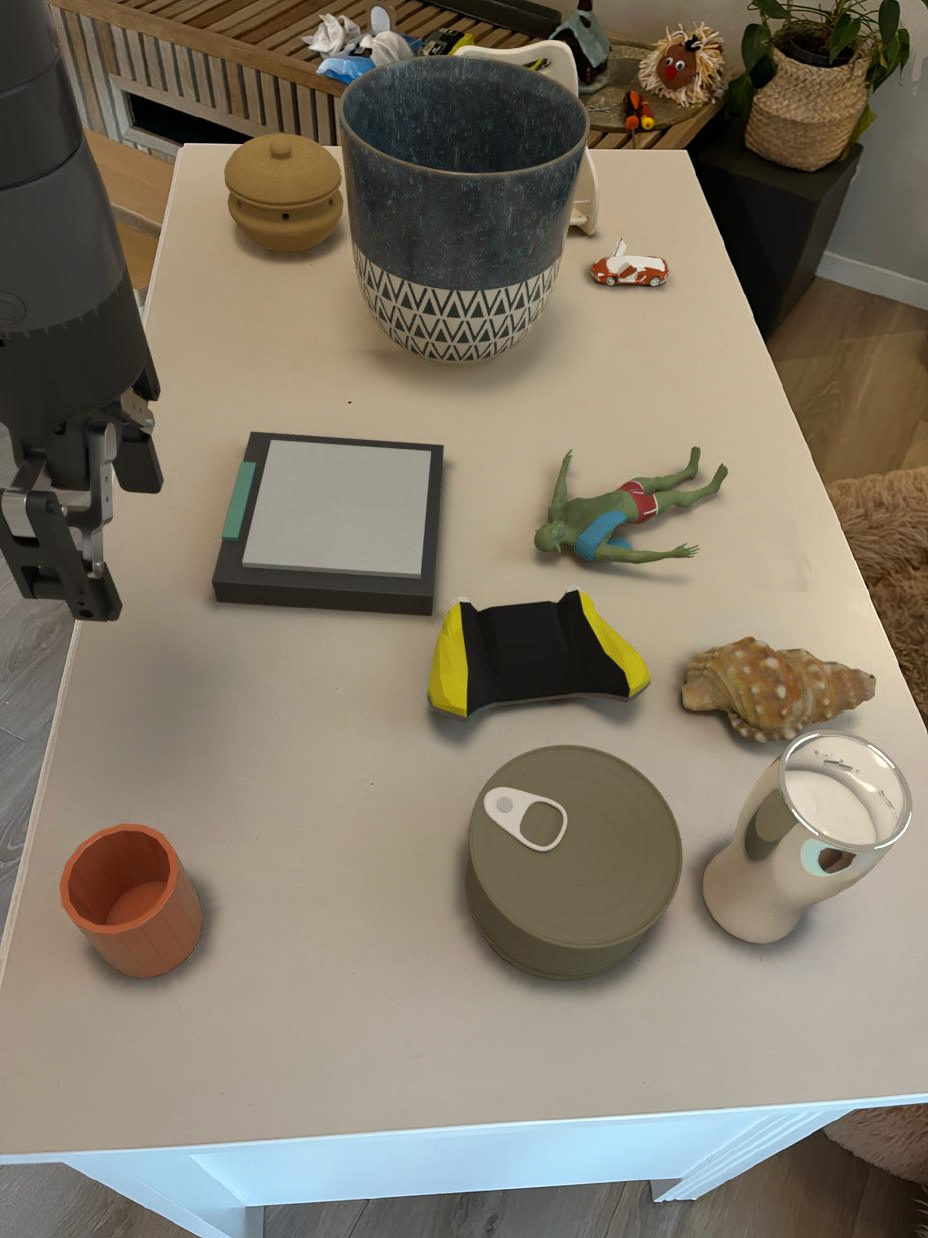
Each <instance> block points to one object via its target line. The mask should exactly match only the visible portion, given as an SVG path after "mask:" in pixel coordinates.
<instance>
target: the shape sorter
mask: <svg viewBox="0 0 928 1238" xmlns="http://www.w3.org/2000/svg"><path fill="white" fill-rule="evenodd" d="M452 55H461V56H475V57H483V58H490V59H496V60H501V61H505V62H510V63H513V64H517V65H520V66H524V65H526V64H530V63H532V62H536V61H539V60H542V59H547V60H548V61H550V63H549V65H548V66H546V67H544V68H541V69H539V70H537V71H538V72H540V73H542V74H544V75H547V76H549V77H551V78H553V79H554V80H556V81H558V82H560V83H561V84H563V85H564V86H566V87H567V88H568V89H570V90H571V91H572V92H573V93H574V94H575V95H576V96H577V97H578V98H579V79H578V70H577V65H576V60H575V57H574V55H573V51H572V49H571V47H570V46H569V45H568V44H567V43H565V42H563V41H561V40H554V39H546V40H541V41H538V42H534V43H532V44H528V45H524V46H521V47H517V48H516V47H515V48H507V49H503V48H489V47H482V46H477V45H469V44H467V45H463V46H460V47H459V48H457V49H456V51H454V53H453V54H452ZM599 208H600V185H599V178H598V174H597V169H596V166H595V163H594V160H593V158H592V155H591V152H590V150H589V147H588V145H587V146H586V151H585V156H584V161H583V165H582V170H581V174H580V178H579V182H578V186H577V191H576V195H575V200H574V205H573V209H572V214H571V219H570V224H569V226H577V227H578V228H580V229H581V230H582V231H583V232H584V234H587V235H594V233H595V231H596V230H597V229H596V228H597V224H598V218H599V211H600V210H599Z"/></svg>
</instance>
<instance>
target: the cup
mask: <svg viewBox="0 0 928 1238" xmlns="http://www.w3.org/2000/svg"><path fill="white" fill-rule="evenodd" d="M59 892H60V901H61V906H62V908H63V910H64V911H65V913H66V914H67V916H68V917H69V918H70V920H71V921H72V922H73V924H74V925H75V926H76V927H77V929H78V930H79V931H80V932H81V933H82V934H83V935H84V937H85V938H86V939H87V940H88V941H89V942H90V944H92V946H93V947H94V948H95V949H96V951H97V952H98V953H99V954H100V955H101V957H102V958H103V959H105V961H106V962H107V963H108V965H110V966H111V967H113V968H114V969H115V970H116V971H118V972H120V973H121V974H123V975H126V976H129V977H132V978H139V979H140V978H141V979H143V978H144V979H145V978H146V979H147V978H154V977H157V976H161V975H163V974H166V973H168V972H170V971H172V970H174V969H175V968H177V967H178V966H179V965H181V964H182V963H184V961H185V960H186V959H187V958H188V957H189V956H190V955H191V953H192V952H193V950H194V949H195V948H196V945H198V942H199V940H200V938H201V934H202V931H203V925H204V914H203V907H202V904H201V902H200V898H199V895H198V894H197V892H196V890H195V888H194V886H193V884H192V882H191V880H190V878H189V875H188V874H187V872H186V870H185V868H184V866H183V863H182V862H181V860H180V857H179V856H178V853H177V852H176V850H175V848H174V846H173V845H172V843H170V841H169V840H168V839H167V837H166V836H165V835H164V834H163V833H162V832H160V831H158V830H156V829H154V828H152V827H150V826H148V825H145V824H138V823H137V824H136V823H120V824H117V825H113V826H110V827H107V828H103V829H100V830H98V831H97V832H96V833H94V834H93V835H91V836H89V837H88V838H87V839H85V840H84V841H82V842H81V843H80V844H79V845H78V847H76V849H75V850H74V852H73V853H72V854H71V855H70V857H69V858H68V859H67V861H66V863H65V865H64V868H63V871H62V875H61V877H60V881H59Z"/></svg>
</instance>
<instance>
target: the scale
mask: <svg viewBox="0 0 928 1238" xmlns="http://www.w3.org/2000/svg"><path fill="white" fill-rule="evenodd" d="M444 449H445V445H444V444H436V443H435V444H434V443H422V442H421V443H420V442H407V441H406V442H405V441H391V440H378V439H365V438H349V437H336V436H321V435H308V434H307V435H306V434H293V433H279V432H267V431H266V432H263V431H250V432H249V437H248V440H247V444H246V448H245V452H244V456H243V459H242V461H240V465H239V468H238V473H237V476H236V480H235V483H234V488H233V491H232V495H231V499H230V503H229V507H228V511H227V514H226V518H225V522H224V526H223V530H222V533H221V544H220V549H219V552H218V556H217V559H216V564H215V567H214V571H213V575H212V579H211V584H212V587H213V591H214V595H215V599H216V602H220V603H222V602H223V603H237V604H249V605H250V604H251V605H265V606H266V605H267V606H281V607H282V606H283V607H297V608H299V607H300V608H309V609H310V608H312V609H326V610H327V609H328V610H341V611H343V610H344V611H355V612H356V611H358V612H372V613H373V612H374V613H388V614H405V615H420V616H432V615H433V605H434V592H435V576H436V565H437V564H436V563H437V552H438V539H439V537H438V536H439V521H440V509H441V508H440V507H441V496H442V480H443V470H444V469H443V468H444V467H443V466H444Z"/></svg>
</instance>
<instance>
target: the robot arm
mask: <svg viewBox="0 0 928 1238" xmlns="http://www.w3.org/2000/svg"><path fill="white" fill-rule="evenodd" d="M83 126H84V125H83V122H82V119H81V114H80V111H79V107H78V104H77V99H76V96H75V93H74V88H73V84H72V81H71V77H70V73H69V70H68V66H67V63H66V59H65V55H64V51H63V48H62V44H61V40H60V37H59V33H58V31H57V27H56V25H55V22H54V19H53V16H52V13H51V10H50V7H49V4H48V0H0V423H1V425H3V426H5V427H6V428H7V430H8V434H9V438H10V443H11V444H10V445H11V450H12V458H13V461H14V464H15V466H16V468H17V472H16V473H15V475H14V477H13V479H12V481H11V483H10V485H9V486H8V487H7V488H6V487H0V552H1V553H2V556H3V557H4V560H5V562H6V564H7V567H8V568H9V570H10V573H11V575H12V577H13V579H14V580H15V584H16V586H17V588H18V590H19V592H20V594H21V596H22V598H23V599H24V600H51V601H52V600H53V601H54V600H55V601H65V602H66V604H67V607H68V609H69V612H70V613H71V616H72V618H73V619H75V620H76V621H83V622H84V621H85V622H98V623H99V622H100V623H108V622H116V621H118V620H119V619H120V616H121V614H122V611H123V607H124V605H123V602H122V599H121V597H120V594H119V592H118V590H117V587H116V585H115V582H114V579H113V577H112V574H111V572H110V569H109V567H108V564H107V562H106V561H105V560H104V559H105V557H104V536H103V535H104V533H103V528H104V527H105V526H106V525H109V524H110V523H111V522H112V520H113V518H114V503H113V502H114V499H113V474H112V472H113V471H112V469H113V470H114V474H115V477H116V480H117V482H118V485H119V488H120V489H122V490H123V491H125V492H127V493H133V494H147V495H157V494H159V493H161V491H162V488H163V485H164V482H165V480H164V479H165V478H164V476H163V472H162V468H161V465H160V460H159V458H158V455H157V450H156V448H155V444H154V441H153V437H152V435H153V432H154V429H155V427H156V420H155V417H154V412H153V411H152V410H150V409H149V408H148V406H149V402H158V401H159V399H160V395H161V390H162V389H161V385H160V381H159V377H158V374H157V370H156V367H155V364H154V363H155V362H154V360H153V357H152V353H151V350H150V346H149V343H148V340H147V335H146V333H145V332H146V331H145V329H144V326H143V322H142V317H141V314H140V310H139V307H138V302H137V299H136V295H135V291H134V288H133V284H132V280H131V277H130V272H129V268H128V265H127V261H126V257H125V253H124V250H123V245H122V242H121V238H120V234H119V229H118V226H117V223H116V219H115V215H114V211H113V206H112V204H111V200H110V197H109V193H108V190H107V187H106V184H105V181H104V178H103V176H102V174H101V171H100V169H99V167H98V165H97V163H96V162H97V161H96V160H95V157H94V155H93V152H92V150H91V148H90V145H89V142H88V139H87V135H86V133H85V129H84V127H83ZM112 467H113V468H112ZM51 488H53V489H57V490H60V491H72V492H89V494H90V496H89V497H90V503H89V506H85V505H71V504H62V503H61V502H59V498H58V496H57V494H56V492H55V491H53V490H52V491H51ZM70 528H76V529H78V530H79V531H80V533H81V550H78V549H77V546H76V544H75V541H74V539H73V538H74V537H73V535H72V533H71V530H70Z"/></svg>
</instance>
